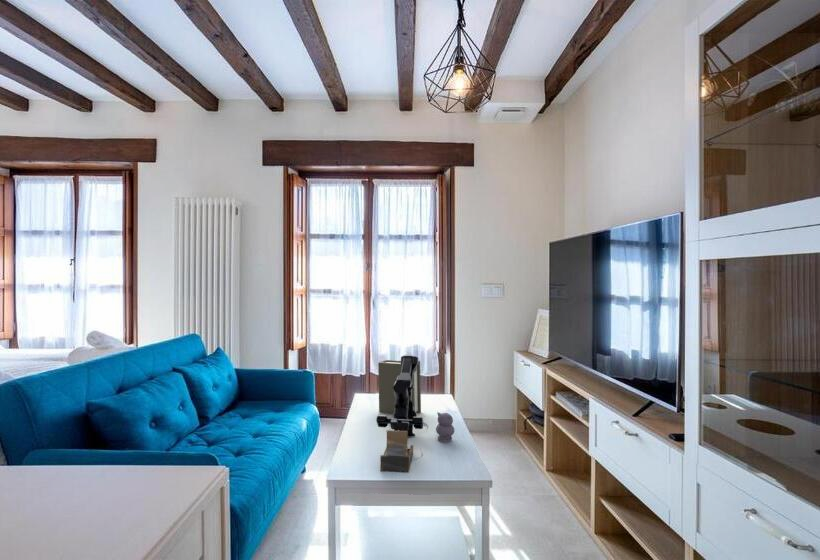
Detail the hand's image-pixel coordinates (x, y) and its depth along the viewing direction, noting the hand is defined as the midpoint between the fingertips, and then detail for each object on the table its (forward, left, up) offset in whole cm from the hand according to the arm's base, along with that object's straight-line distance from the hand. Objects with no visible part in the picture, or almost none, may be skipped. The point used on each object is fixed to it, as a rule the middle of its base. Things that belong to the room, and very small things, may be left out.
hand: (397, 442), depth 162 cm
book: (-53, +31, -8) cm, 62 cm away
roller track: (+1, -1, -7) cm, 8 cm away
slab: (+4, -3, -5) cm, 7 cm away
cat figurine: (-8, +29, -8) cm, 31 cm away
